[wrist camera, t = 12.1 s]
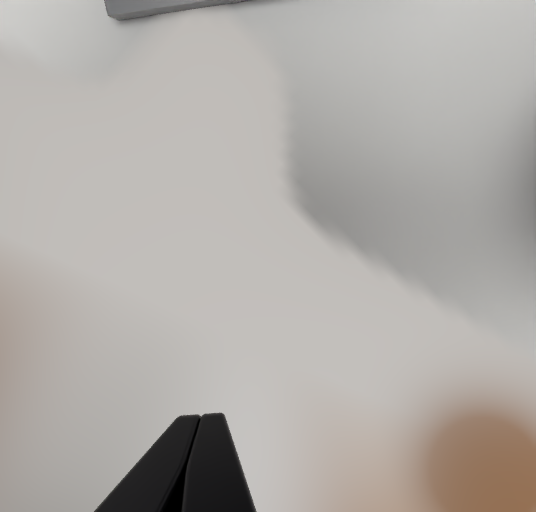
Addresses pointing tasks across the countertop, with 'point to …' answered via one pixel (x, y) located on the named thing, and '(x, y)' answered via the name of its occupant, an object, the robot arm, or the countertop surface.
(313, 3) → the countertop surface
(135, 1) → the console
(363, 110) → the countertop surface
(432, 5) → the countertop surface
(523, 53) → the countertop surface
